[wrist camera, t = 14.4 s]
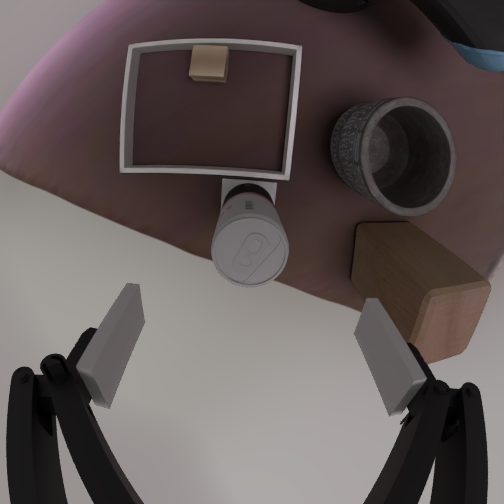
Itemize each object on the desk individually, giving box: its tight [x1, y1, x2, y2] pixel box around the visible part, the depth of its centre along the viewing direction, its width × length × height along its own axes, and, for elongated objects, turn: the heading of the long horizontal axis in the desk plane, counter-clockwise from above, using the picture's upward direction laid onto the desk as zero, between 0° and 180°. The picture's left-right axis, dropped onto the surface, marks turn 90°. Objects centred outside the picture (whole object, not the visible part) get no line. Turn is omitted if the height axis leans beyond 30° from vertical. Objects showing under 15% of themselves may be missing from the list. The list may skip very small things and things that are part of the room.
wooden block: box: [351, 222, 491, 364], centre depth 31 cm, size 10×10×20 cm
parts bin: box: [120, 38, 302, 180], centre depth 30 cm, size 17×21×3 cm
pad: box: [221, 178, 277, 209], centre depth 37 cm, size 7×7×1 cm
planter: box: [330, 97, 457, 217], centre depth 28 cm, size 12×12×13 cm
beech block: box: [189, 45, 230, 83], centre depth 27 cm, size 4×4×4 cm
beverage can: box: [211, 183, 289, 287], centre depth 30 cm, size 7×7×15 cm
